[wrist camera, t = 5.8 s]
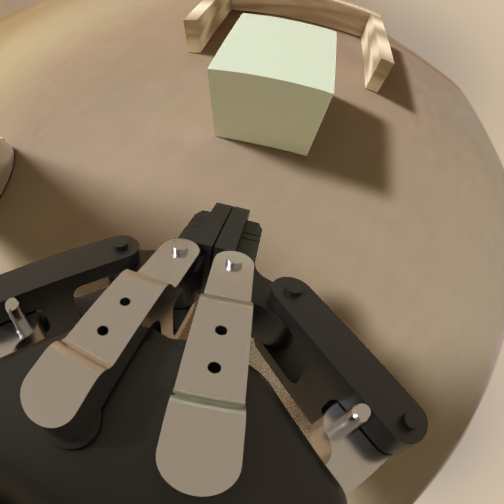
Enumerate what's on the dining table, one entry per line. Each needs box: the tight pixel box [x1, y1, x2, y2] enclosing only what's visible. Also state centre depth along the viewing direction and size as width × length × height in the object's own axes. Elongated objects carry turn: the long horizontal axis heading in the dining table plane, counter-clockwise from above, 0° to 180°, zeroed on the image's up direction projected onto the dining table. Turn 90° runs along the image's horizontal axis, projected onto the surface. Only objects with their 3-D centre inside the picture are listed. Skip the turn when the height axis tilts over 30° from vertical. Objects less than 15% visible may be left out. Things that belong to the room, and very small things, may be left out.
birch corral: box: [184, 0, 394, 92], centre depth 23 cm, size 14×22×5 cm, turn 77°
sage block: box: [208, 13, 337, 156], centre depth 19 cm, size 9×8×8 cm
